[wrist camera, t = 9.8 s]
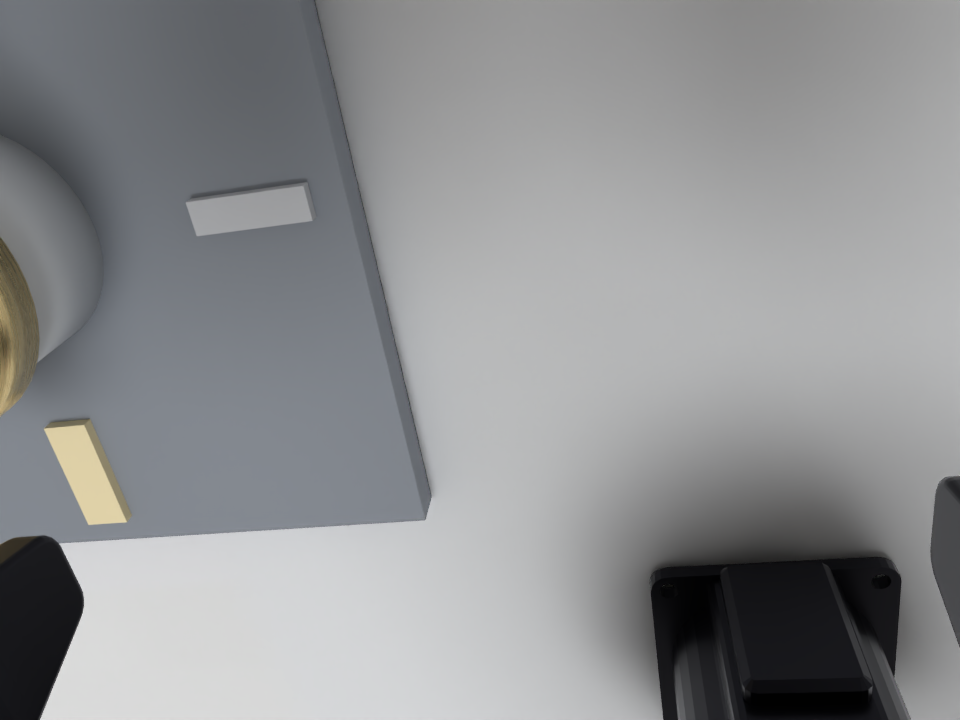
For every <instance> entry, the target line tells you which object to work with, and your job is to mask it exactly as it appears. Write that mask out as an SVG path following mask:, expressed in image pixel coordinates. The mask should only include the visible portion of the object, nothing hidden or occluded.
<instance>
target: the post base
mask: <svg viewBox="0 0 960 720" xmlns="http://www.w3.org/2000/svg"><path fill="white" fill-rule="evenodd" d="M0 237H1V238H2V240H3V241H4V242H5V244H6V245H7V247H8V248H9V250H10V252H11V253H12V255H13V257H14V258H15V260H16V261H17V263H18V265H19V267H20V269H21V271H22V273H23V275H24V277H25V280H26V282H27V284H28V287H29V289H30V292H31V295H32V298H33V301H34V305H35V309H36V314H37V319H38V326H39V339H40V341H39V355H38V360H37V365H36V369H35V373H34V375H33V377H32V380H31V382H30V384H29V386H28V388H27V389H26V391H25V392H24V394H23V395H22V397H21V398H20V399H19V400H18V401H17V402H16V403H15V404H14V405H13V406H12V407H11V408H10V409H9V410H8V411H7V412H5V413H4V414H3V415H2V416H1V417H0V544H2V543H4V542H5V541H7V540H10V539H12V538H16V537H25V536H41V535H45V536H49V537H52V538H53V539H55V540H56V541H57V542H58V543H71V542H87V541H103V540H119V539H135V538H151V537H166V536H182V535H198V534H214V533H230V532H246V531H261V530H277V529H293V528H309V527H325V526H341V525H357V524H372V523H388V522H404V521H420V520H425V519H426V515H427V512H428V508H429V505H430V501H431V494H430V490H429V485H428V481H427V477H426V473H425V468H424V464H423V460H422V456H421V451H420V447H419V443H418V439H417V434H416V430H415V426H414V422H413V417H412V413H411V409H410V405H409V400H408V396H407V392H406V388H405V383H404V379H403V375H402V371H401V367H400V362H399V358H398V354H397V350H396V345H395V341H394V337H393V333H392V328H391V324H390V320H389V316H388V311H387V307H386V303H385V299H384V294H383V290H382V286H381V282H380V277H379V273H378V269H377V265H376V260H375V256H374V252H373V248H372V244H371V239H370V235H369V231H368V227H367V222H366V218H365V214H364V210H363V205H362V201H361V197H360V193H359V188H358V184H357V180H356V176H355V171H354V167H353V163H352V159H351V154H350V150H349V146H348V142H347V137H346V133H345V129H344V125H343V121H342V116H341V112H340V108H339V104H338V99H337V95H336V91H335V87H334V82H333V78H332V74H331V70H330V65H329V61H328V57H327V53H326V48H325V44H324V40H323V36H322V31H321V27H320V23H319V19H318V14H317V10H316V6H315V2H314V0H0Z"/></svg>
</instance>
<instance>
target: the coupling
mask: <svg viewBox="0 0 960 720" xmlns="http://www.w3.org/2000/svg"><path fill="white" fill-rule="evenodd" d="M39 341H40V339H39V326H38V319H37V314H36V309H35V305H34V301H33V298H32V295H31V292H30V289H29V287H28V284H27V282H26V280H25V277H24V275H23V273H22V271H21V269H20V267H19V265H18V263H17V261H16V260H15V258H14V257H13V255H12V253H11V252H10V250H9V248H8V247H7V245H6V244H5V242H4V241H3V240H2V238H1V237H0V417H1V416H2V415H3V414H4V413H5V412H7V411H8V410H9V409H10V408H11V407H12V406H13V405H14V404H15V403H16V402H17V401H18V400H19V399H20V398H21V397H22V395H23V394H24V392H25V391H26V389H27V388H28V386H29V384H30V382H31V380H32V377H33V375H34V373H35V369H36V365H37V360H38V355H39Z"/></svg>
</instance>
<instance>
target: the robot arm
mask: <svg viewBox="0 0 960 720" xmlns="http://www.w3.org/2000/svg"><path fill="white" fill-rule="evenodd" d="M931 562H932V568H933V572H934V575H935V579H936V581H937V584H938V587H939V590H940V593H941V596H942V598H943V601H944V604H945V607H946V610H947V613H948V615H949V618H950V621H951V624H952V627H953V630H954V632H955V635H956V638H957V641H958V644H959V646H960V476H953V477H945V478H944V479H943V480H941V481H940V482H939V484H938V487H937V489H936V494H935V505H934V516H933V527H932V538H931ZM880 574H883V575H884V576H883V577H882V578H878V579H873V578H874V577H875V576H876V575H880ZM667 584H671V585H674V587H672V588H664V587H662V586H664V585H667ZM650 589H651V599H652V609H653V619H654V629H655V639H656V649H657V659H658V669H659V679H660V689H661V699H662V709H663V719H664V720H911V718H910V715H909V713H908V711H907V708H906V706H905V703H904V701H903V698H902V696H901V693H900V691H899V688H898V686H897V684H896V681H895V679H894V675H895V661H896V647H897V633H898V619H899V605H900V592H901V577H900V574H899V572H898V570H897V568H896V566H895V564H894V563H893V562H892V561H891V560H889V559H887V558H882V557H867V558H847V559H827V560H807V561H787V562H767V563H747V564H727V565H707V566H687V567H667V568H662V569H659V570H657V571H655V572H654V573H653V575H652V576H651V578H650ZM83 608H84V597H83V592H82V589H81V587H80V585H79V583H78V581H77V579H76V577H75V575H74V573H73V571H72V569H71V566H70V564H69V562H68V560H67V558H66V556H65V554H64V552H63V550H62V548H61V546H60V545H59V543H58V542H57V541H56V540H55V539H53V538H52V537H49V536H45V535H41V536H25V537H16V538H12V539H10V540H7V541H5V542H4V543H2V544H0V720H40V718H41V716H42V713H43V711H44V708H45V706H46V703H47V701H48V698H49V696H50V693H51V691H52V688H53V686H54V683H55V681H56V678H57V676H58V673H59V671H60V669H61V666H62V664H63V661H64V659H65V656H66V654H67V651H68V649H69V646H70V644H71V641H72V639H73V636H74V634H75V631H76V629H77V626H78V624H79V621H80V619H81V616H82V613H83Z"/></svg>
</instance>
